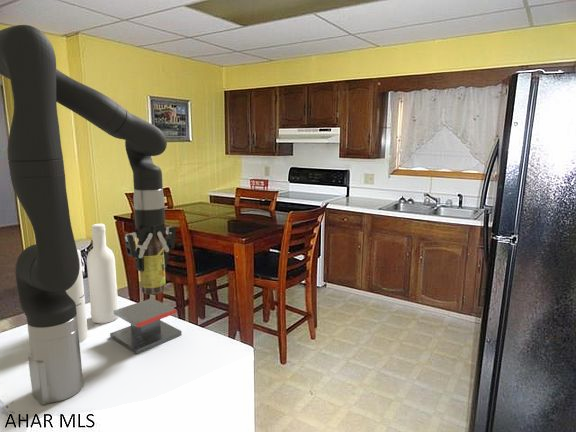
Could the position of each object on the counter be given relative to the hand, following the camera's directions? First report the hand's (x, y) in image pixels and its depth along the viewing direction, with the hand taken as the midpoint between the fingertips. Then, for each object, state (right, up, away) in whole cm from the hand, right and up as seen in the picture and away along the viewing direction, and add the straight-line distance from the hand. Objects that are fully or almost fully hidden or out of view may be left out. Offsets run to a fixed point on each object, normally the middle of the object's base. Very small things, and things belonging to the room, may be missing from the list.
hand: (152, 267), depth 106 cm
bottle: (-21, -18, +18) cm, 33 cm away
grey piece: (-4, -20, +7) cm, 22 cm away
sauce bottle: (0, -7, +1) cm, 7 cm away
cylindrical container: (-24, -21, +6) cm, 32 cm away
